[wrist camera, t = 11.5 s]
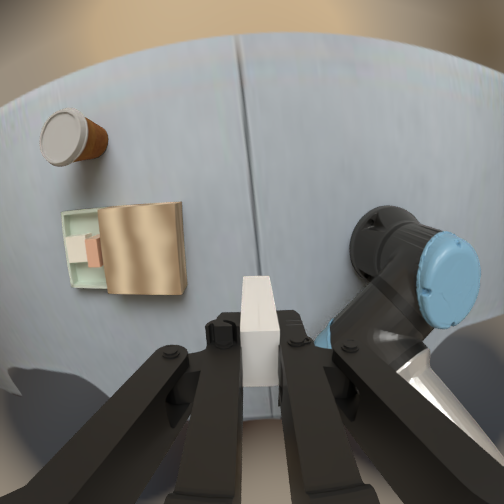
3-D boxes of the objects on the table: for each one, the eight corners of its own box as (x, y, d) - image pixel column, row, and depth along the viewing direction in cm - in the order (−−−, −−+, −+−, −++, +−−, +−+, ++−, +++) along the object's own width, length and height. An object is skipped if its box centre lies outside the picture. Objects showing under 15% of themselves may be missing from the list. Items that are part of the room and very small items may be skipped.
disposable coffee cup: (112, 167, 48) (79, 166, 37) (71, 166, 48) (34, 166, 36) (119, 117, 46) (87, 103, 34) (77, 119, 46) (42, 109, 34)
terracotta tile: (96, 239, 46) (84, 239, 46) (100, 267, 47) (88, 267, 47) (108, 233, 51) (97, 234, 51) (111, 259, 52) (100, 260, 52)
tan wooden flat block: (181, 201, 50) (174, 204, 45) (187, 284, 54) (181, 294, 49) (109, 206, 50) (97, 209, 45) (118, 284, 54) (108, 293, 49)
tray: (108, 206, 50) (102, 208, 48) (117, 284, 54) (112, 288, 51) (67, 210, 50) (60, 212, 48) (77, 283, 54) (71, 287, 51)
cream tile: (64, 237, 48) (71, 234, 51) (69, 262, 49) (75, 259, 52) (85, 234, 48) (91, 232, 51) (89, 261, 49) (95, 258, 52)
